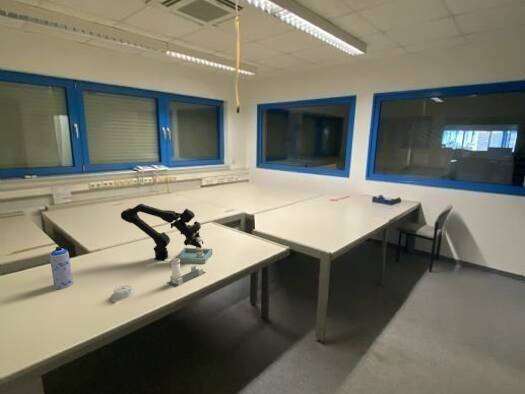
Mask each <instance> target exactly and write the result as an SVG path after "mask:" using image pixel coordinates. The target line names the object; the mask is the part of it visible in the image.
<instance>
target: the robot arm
mask: <svg viewBox="0 0 525 394" xmlns="http://www.w3.org/2000/svg"><path fill="white" fill-rule="evenodd" d="M138 213H144V214H147V215H150V216H152V217H153V216H154V217H156V218H160V219H161V220H163V221H164V222H166V223H170V229H173V227H174V228H175V229H176V230H177V231H178V232H180V233H179V234H180V235H181V236H182V235H183V236H184V237H185V239H184V241H183V245H185V246H186V247H187V246H192V247H195V248H196V247H199V248H201V247H202V248H203V244H204V241H203V240H202V246H201V245H200V244H199V242H198V241H197V240H196V237H201V235H200V229H201V228H202V226H201V223H200V222H199V221H197V220H195V221H194V222H193V224H192V225H190V224H189V222H190V221H192V220H193V219H194V218H195V217H196V215H195V213H194V212H193V211H191V210H190V209H188V208H185V209H184V210H183V212H182V213H180V212H176V211H174V210H170V209H169V210H168V209H167V210H166V209H165V210H164V209H160V208H156V207H153V206H149V205H146V204H144V203H139V204H137V205H136V206H135V207H132V208H130V207H129V208H126V209H125V210H123V211H122V212H121V213H120V218H121V219H122V220H123V221H125V222H127V223H129V224H132V225H135V227H137V228H138V229H139V230H141V231H142V232H143V233H145V234H146V235H147V236H149V237H150V238H151V239H152V240H153V243H154V244H155V246H154V247H153V251H154V256H155V258H154V261H166V260H167V258H169V251H168V248H167V246H168V245H169V244H170V243H171V238H170V236H169V235H168V234H166V233H165V232H163V231H162V233H161V232H158V231H157V230H156V229H155V228H153V227H152V226H151V225H149V224H148V223H147V222H145V221H144V220H143V219H142V218H140V216H139V214H138Z"/></svg>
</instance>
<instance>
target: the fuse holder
mask: <svg viewBox="0 0 525 394" xmlns="http://www.w3.org/2000/svg"><path fill="white" fill-rule="evenodd" d="M206 273H207V272H206V271H204V269H203V268H197V266H196V265H192V266H191V267H190V272H187V273H185V274H183V275H180V276H181V278H179V279H177V284H173V283H172V274H171V275H170V281H167V282H166V284H168V285H169V286H171V287H173V288H177V287H179V286H181V285H184V284H185V283H187V282H189V281H192V280H194V279H196V278H198V277H201V276H202V275H205V274H206Z"/></svg>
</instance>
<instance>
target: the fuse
mask: <svg viewBox="0 0 525 394" xmlns="http://www.w3.org/2000/svg"><path fill="white" fill-rule="evenodd" d="M170 263H171V275H172V283H173V284H177V279H179V278H181V276H182V275H181V262H180V259H178V258H175V257H174V258H172V259H171V260H170Z"/></svg>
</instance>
